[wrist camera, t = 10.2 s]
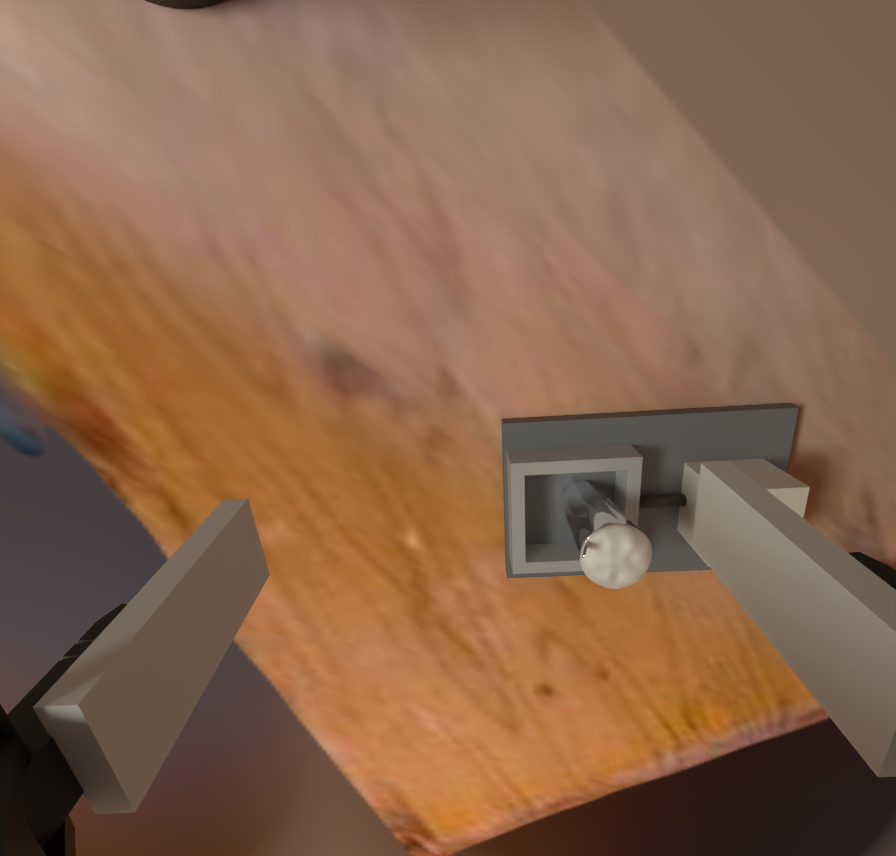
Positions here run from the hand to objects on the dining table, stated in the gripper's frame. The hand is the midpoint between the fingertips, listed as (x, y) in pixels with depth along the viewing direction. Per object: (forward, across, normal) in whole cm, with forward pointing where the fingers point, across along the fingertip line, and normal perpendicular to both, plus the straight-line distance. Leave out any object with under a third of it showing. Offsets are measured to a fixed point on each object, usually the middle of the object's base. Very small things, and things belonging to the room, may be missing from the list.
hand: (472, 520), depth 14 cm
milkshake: (+21, +8, -12) cm, 26 cm away
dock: (+22, +14, -13) cm, 29 cm away
